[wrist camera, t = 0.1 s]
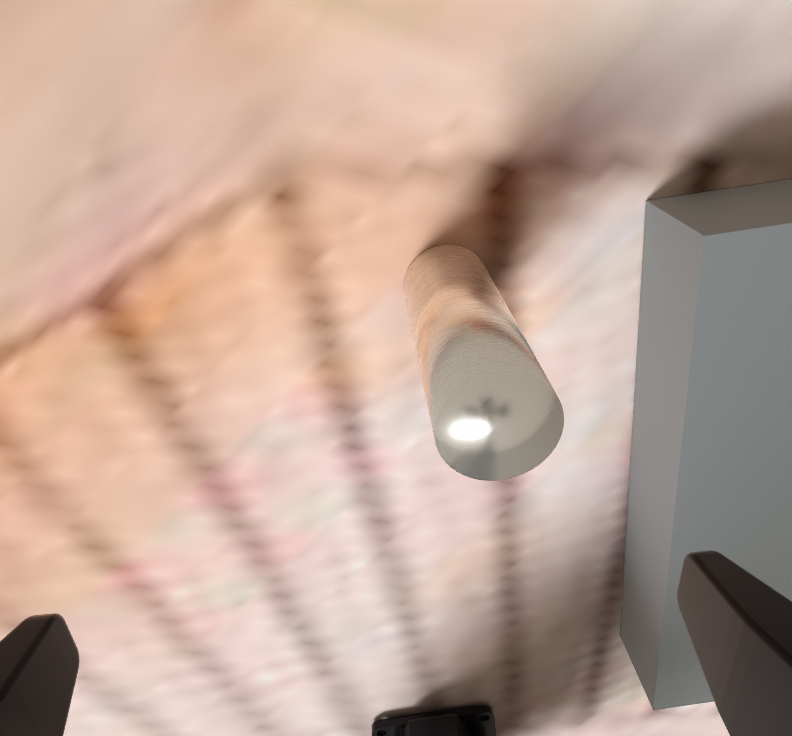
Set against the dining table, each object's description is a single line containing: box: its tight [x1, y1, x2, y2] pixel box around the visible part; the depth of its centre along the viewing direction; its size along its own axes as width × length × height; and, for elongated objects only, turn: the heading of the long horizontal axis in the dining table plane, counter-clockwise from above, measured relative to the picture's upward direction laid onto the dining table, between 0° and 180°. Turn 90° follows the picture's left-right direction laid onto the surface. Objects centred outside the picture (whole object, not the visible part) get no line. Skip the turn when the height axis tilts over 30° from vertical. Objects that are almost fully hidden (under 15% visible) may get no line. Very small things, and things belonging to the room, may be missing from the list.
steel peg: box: [403, 244, 564, 481], centre depth 19 cm, size 3×3×9 cm
